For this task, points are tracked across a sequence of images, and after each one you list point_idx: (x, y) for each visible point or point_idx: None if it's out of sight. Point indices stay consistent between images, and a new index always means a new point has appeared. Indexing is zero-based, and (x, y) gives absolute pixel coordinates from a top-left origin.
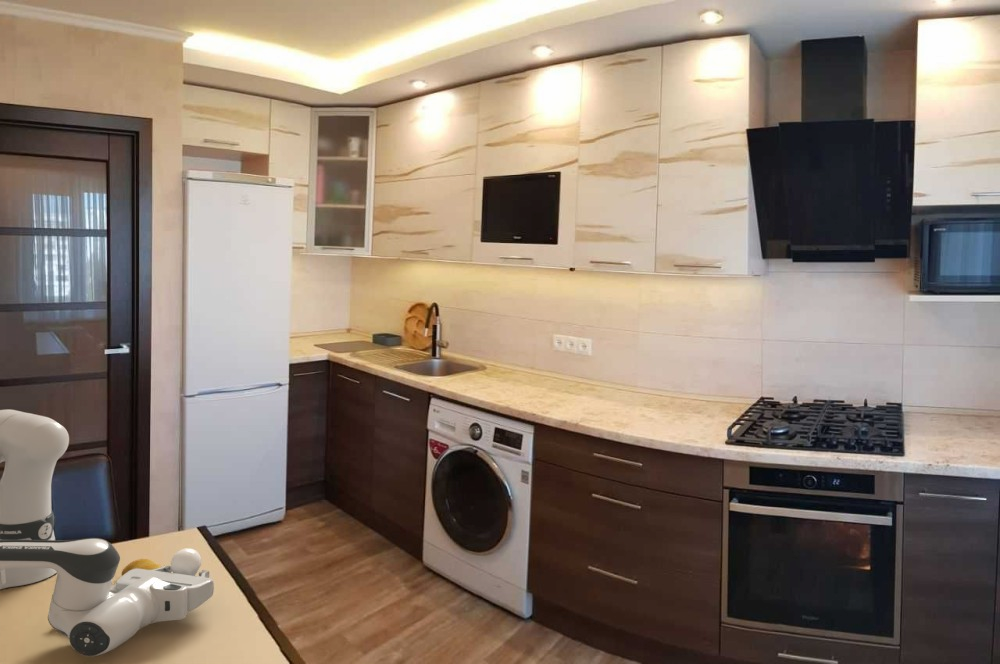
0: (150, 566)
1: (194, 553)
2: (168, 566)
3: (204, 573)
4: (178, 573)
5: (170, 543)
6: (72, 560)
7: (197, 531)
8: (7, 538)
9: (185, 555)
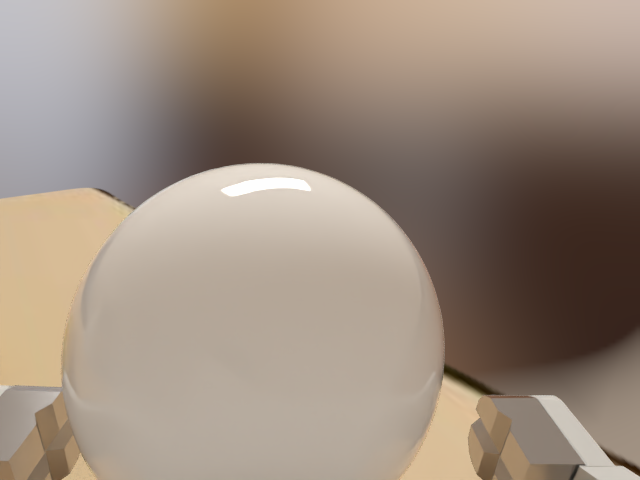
0: None
1: (391, 218)
2: (30, 404)
3: (611, 463)
4: None
5: (11, 220)
6: None
7: (91, 190)
8: None
9: (340, 250)
